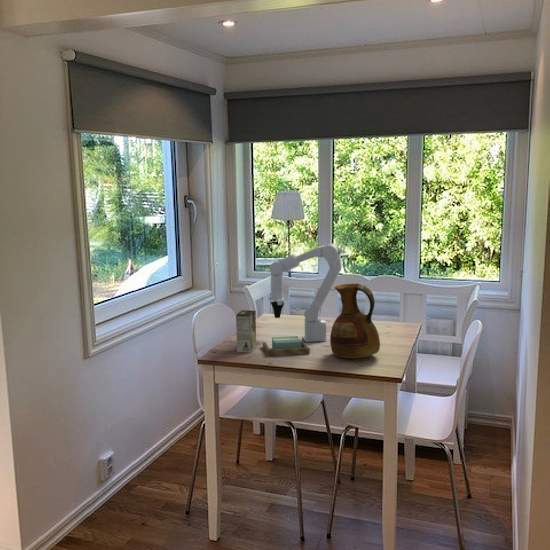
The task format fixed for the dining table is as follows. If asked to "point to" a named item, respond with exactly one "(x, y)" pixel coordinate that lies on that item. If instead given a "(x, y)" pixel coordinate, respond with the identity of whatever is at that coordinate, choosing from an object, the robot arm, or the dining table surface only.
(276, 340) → the teal rectangular block
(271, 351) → the display stand
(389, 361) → the dining table surface
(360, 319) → the ceramic pitcher
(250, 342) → the coffee box
